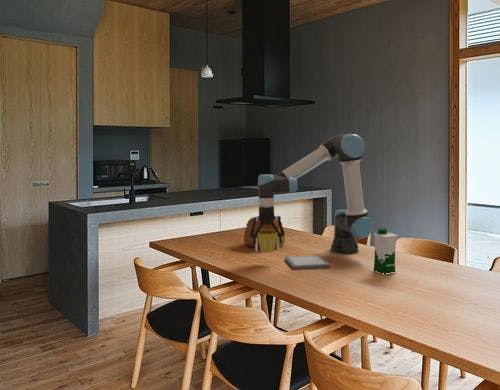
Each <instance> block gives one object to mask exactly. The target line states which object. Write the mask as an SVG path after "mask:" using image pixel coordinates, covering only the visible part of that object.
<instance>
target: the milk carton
mask: <svg viewBox="0 0 500 390" xmlns="http://www.w3.org/2000/svg"><path fill="white" fill-rule="evenodd" d="M373 238H374V262H373V263H374V264H373V270H374V271H373V272H375V271H377V272H376V273H378V272H380V273H384V274H386V273H391V272H395V273H396V247H397V246H396V245H397V240H398V234H394V233H391V232H388V229H387V228H385V227H384V228H381V227H379V228H378V229H377V232H375V233H373ZM380 273H379V274H380Z"/></svg>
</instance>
